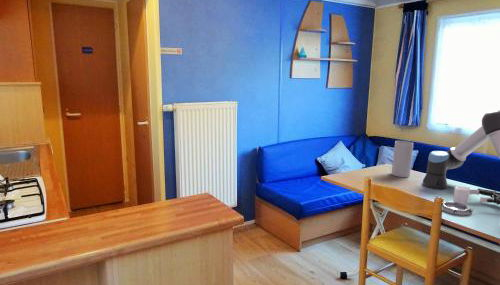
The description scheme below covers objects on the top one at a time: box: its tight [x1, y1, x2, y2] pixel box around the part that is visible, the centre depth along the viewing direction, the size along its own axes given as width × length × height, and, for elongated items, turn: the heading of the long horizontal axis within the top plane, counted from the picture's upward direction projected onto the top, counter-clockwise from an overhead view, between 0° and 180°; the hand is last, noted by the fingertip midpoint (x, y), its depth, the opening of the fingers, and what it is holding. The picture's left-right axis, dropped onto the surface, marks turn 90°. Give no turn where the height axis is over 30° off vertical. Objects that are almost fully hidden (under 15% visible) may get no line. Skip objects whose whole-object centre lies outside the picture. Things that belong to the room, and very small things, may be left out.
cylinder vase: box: [391, 140, 414, 178], centre depth 265 cm, size 12×12×25 cm
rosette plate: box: [442, 200, 474, 217], centre depth 201 cm, size 16×16×3 cm
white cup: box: [453, 185, 471, 206], centre depth 210 cm, size 8×8×10 cm
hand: (473, 195), depth 209 cm, fingers open, 13 cm apart
